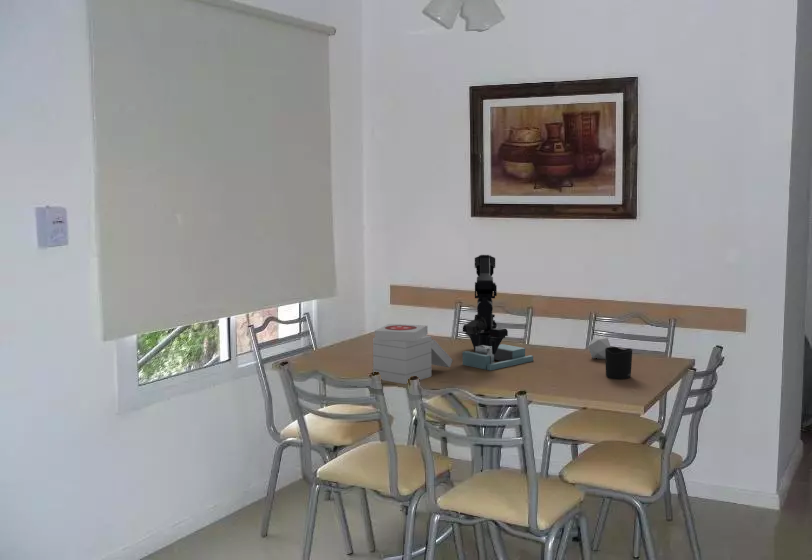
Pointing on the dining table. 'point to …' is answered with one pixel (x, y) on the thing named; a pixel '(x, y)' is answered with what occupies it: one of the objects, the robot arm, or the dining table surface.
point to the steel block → (485, 351)
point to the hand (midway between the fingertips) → (484, 352)
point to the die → (598, 347)
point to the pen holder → (618, 363)
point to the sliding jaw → (508, 352)
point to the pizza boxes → (406, 353)
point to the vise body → (485, 361)
